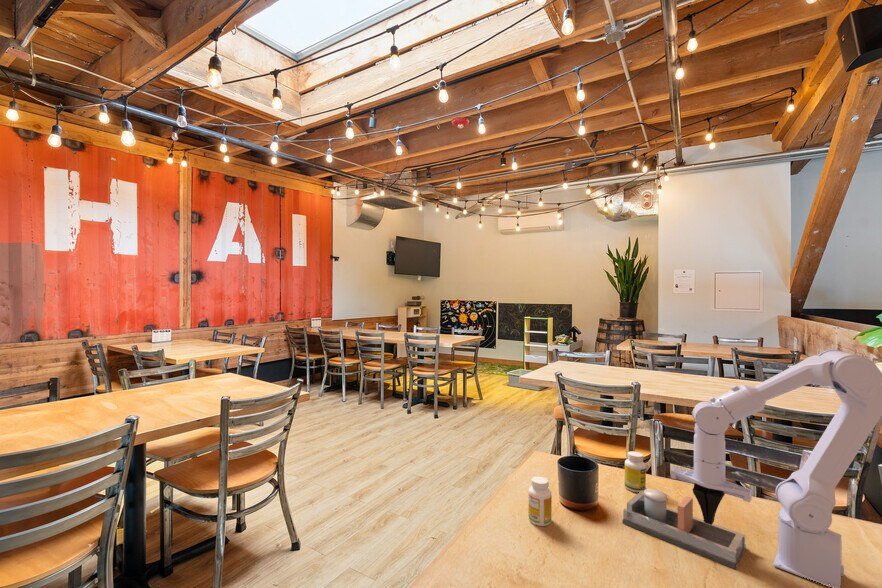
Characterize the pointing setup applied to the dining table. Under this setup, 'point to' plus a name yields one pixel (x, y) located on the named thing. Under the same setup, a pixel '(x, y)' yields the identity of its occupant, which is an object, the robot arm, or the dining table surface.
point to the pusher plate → (685, 514)
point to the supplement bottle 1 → (540, 502)
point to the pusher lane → (699, 540)
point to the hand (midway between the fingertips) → (709, 521)
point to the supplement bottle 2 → (635, 472)
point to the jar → (655, 505)
